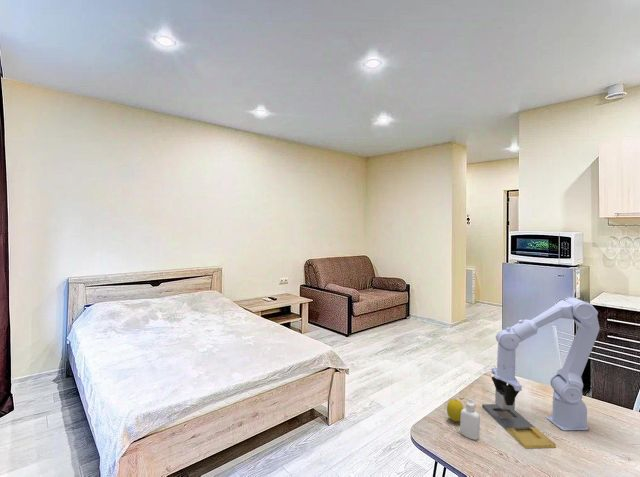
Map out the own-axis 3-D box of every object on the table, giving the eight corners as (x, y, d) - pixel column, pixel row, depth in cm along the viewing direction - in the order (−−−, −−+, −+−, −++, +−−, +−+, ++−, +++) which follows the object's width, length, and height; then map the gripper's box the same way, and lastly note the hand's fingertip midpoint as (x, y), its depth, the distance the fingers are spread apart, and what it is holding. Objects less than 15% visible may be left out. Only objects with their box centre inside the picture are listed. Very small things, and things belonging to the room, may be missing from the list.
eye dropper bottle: (468, 429, 112) (469, 394, 112) (481, 439, 107) (482, 402, 107) (458, 431, 111) (459, 396, 111) (470, 442, 106) (471, 404, 105)
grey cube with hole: (506, 402, 124) (507, 389, 123) (514, 409, 119) (515, 395, 119) (495, 403, 123) (495, 389, 123) (502, 409, 119) (503, 395, 119)
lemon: (465, 427, 114) (465, 404, 113) (448, 425, 115) (448, 402, 114) (461, 418, 119) (462, 396, 119) (445, 416, 120) (445, 394, 120)
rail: (507, 406, 128) (507, 403, 128) (555, 447, 104) (555, 444, 104) (482, 407, 127) (482, 404, 127) (525, 448, 103) (525, 445, 103)
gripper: (484, 356, 128) (483, 391, 128) (508, 373, 113) (507, 412, 114) (502, 356, 128) (501, 391, 129) (528, 372, 114) (526, 411, 114)
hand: (505, 401), depth 121 cm, fingers closed on grey cube with hole, 4 cm apart
